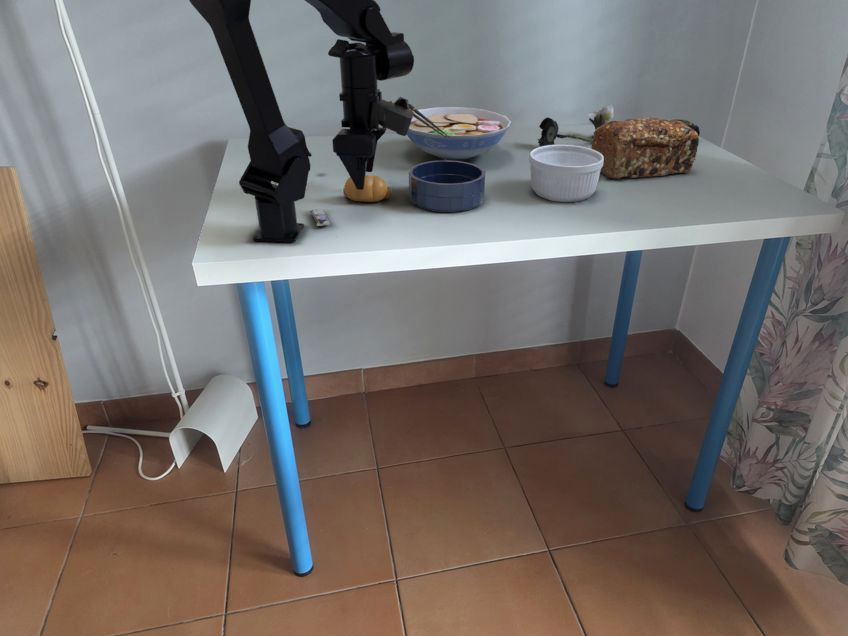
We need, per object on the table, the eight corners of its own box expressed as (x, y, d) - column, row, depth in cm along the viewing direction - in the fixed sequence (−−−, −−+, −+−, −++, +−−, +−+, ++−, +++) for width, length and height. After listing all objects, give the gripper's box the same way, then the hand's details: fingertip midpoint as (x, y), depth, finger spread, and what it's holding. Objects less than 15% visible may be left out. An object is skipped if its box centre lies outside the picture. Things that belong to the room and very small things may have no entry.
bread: (611, 182, 130) (619, 129, 124) (587, 165, 138) (593, 115, 133) (695, 174, 135) (705, 123, 129) (666, 159, 143) (675, 110, 138)
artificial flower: (529, 149, 151) (531, 102, 148) (610, 151, 161) (613, 107, 158) (551, 149, 143) (554, 99, 141) (635, 150, 153) (638, 104, 150)
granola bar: (309, 213, 112) (308, 207, 111) (323, 212, 113) (322, 206, 112) (316, 228, 107) (316, 222, 106) (331, 226, 107) (330, 220, 107)
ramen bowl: (529, 168, 135) (533, 127, 131) (421, 180, 128) (421, 136, 123) (481, 136, 155) (483, 99, 150) (385, 144, 147) (384, 105, 143)
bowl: (483, 214, 114) (484, 186, 111) (405, 211, 114) (404, 183, 111) (484, 188, 125) (485, 161, 122) (413, 185, 125) (413, 159, 122)
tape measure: (670, 143, 153) (674, 126, 151) (657, 135, 159) (660, 119, 157) (698, 142, 155) (701, 125, 153) (683, 134, 160) (687, 118, 158)
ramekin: (542, 207, 117) (545, 168, 113) (516, 183, 128) (519, 146, 124) (611, 202, 120) (616, 163, 117) (580, 178, 131) (584, 142, 127)
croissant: (389, 206, 116) (388, 181, 114) (339, 204, 116) (337, 179, 114) (392, 196, 120) (391, 172, 118) (344, 195, 120) (342, 170, 118)
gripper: (402, 100, 100) (405, 201, 108) (415, 75, 115) (416, 165, 124) (327, 97, 100) (336, 198, 108) (350, 73, 115) (356, 163, 124)
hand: (365, 180), depth 116 cm, fingers open, 9 cm apart
